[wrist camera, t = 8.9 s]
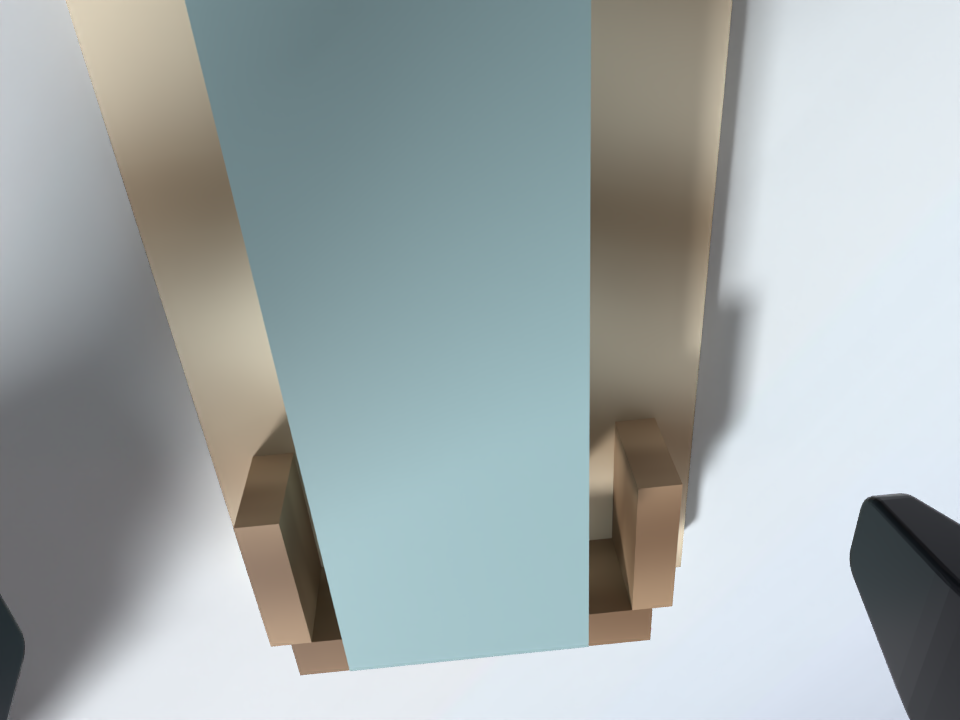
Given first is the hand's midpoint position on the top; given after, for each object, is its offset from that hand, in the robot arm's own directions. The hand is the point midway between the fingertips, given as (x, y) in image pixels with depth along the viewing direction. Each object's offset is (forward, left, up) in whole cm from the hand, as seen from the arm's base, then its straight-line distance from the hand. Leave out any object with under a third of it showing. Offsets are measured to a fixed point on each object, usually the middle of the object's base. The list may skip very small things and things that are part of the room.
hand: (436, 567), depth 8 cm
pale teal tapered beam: (0, 0, -10) cm, 10 cm away
